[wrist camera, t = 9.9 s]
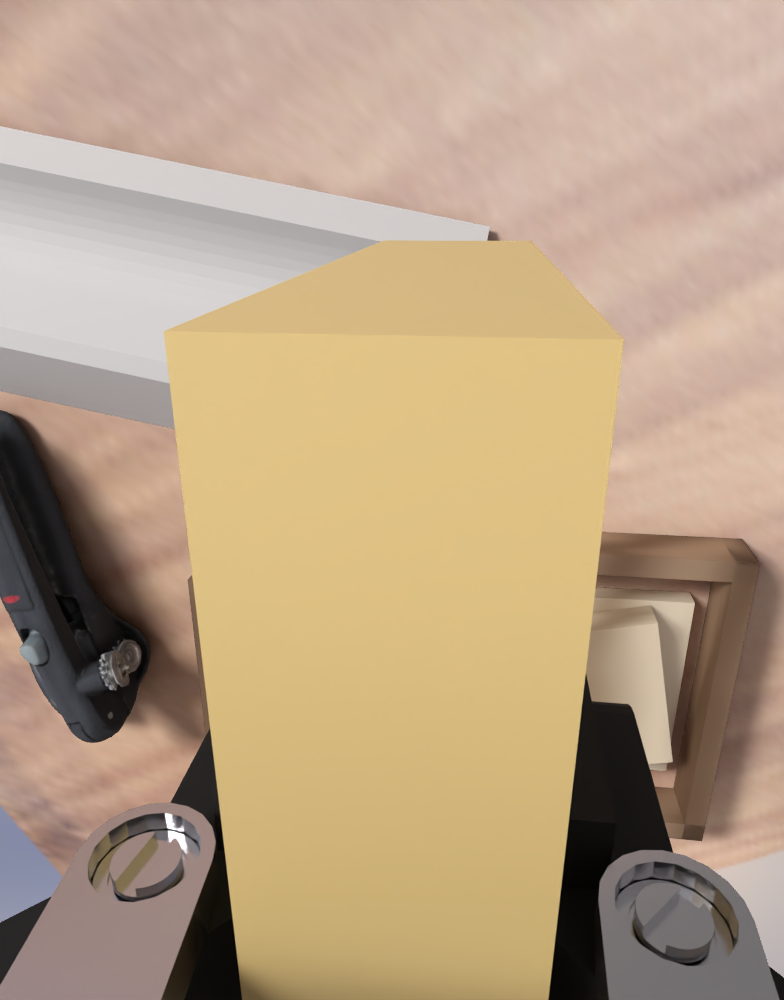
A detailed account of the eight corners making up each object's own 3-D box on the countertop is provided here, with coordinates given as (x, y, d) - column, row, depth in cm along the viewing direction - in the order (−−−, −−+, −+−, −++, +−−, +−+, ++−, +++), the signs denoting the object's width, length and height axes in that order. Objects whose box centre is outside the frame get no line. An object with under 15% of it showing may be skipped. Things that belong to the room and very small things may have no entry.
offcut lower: (685, 584, 37) (695, 603, 35) (658, 747, 40) (666, 770, 39) (521, 576, 37) (523, 593, 36) (510, 736, 41) (510, 758, 40)
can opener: (184, 688, 42) (141, 757, 37) (75, 704, 43) (20, 772, 38) (63, 387, 36) (-9, 418, 31) (-59, 416, 37) (-147, 451, 32)
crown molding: (489, 229, 32) (489, 233, 28) (431, 485, 36) (426, 515, 33) (-209, 87, 33) (-288, 74, 29) (-177, 353, 37) (-242, 369, 34)
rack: (742, 539, 35) (800, 616, 28) (689, 804, 41) (727, 918, 34) (239, 514, 37) (187, 580, 31) (260, 766, 43) (220, 866, 37)
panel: (531, 240, 12) (624, 339, 4) (494, 811, 17) (499, 1428, 8) (384, 240, 12) (162, 332, 4) (387, 801, 17) (288, 1390, 9)
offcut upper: (650, 605, 35) (657, 623, 34) (665, 740, 38) (672, 762, 37) (524, 621, 36) (525, 639, 35) (547, 750, 39) (549, 772, 38)
